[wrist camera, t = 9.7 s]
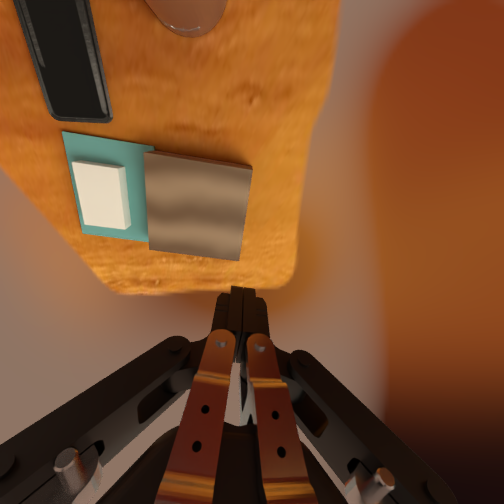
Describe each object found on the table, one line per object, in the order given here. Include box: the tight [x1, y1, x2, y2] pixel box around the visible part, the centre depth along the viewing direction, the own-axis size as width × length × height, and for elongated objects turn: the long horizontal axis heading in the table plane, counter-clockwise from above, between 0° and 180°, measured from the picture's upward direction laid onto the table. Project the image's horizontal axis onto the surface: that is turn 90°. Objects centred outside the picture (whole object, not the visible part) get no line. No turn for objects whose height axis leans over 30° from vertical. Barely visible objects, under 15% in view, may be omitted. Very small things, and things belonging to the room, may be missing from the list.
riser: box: [143, 150, 253, 261], centre depth 34 cm, size 14×14×4 cm
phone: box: [13, 0, 113, 123], centre depth 27 cm, size 8×1×15 cm
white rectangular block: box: [72, 160, 131, 230], centre depth 33 cm, size 9×6×2 cm, turn 172°
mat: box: [62, 131, 155, 242], centre depth 34 cm, size 15×12×1 cm
